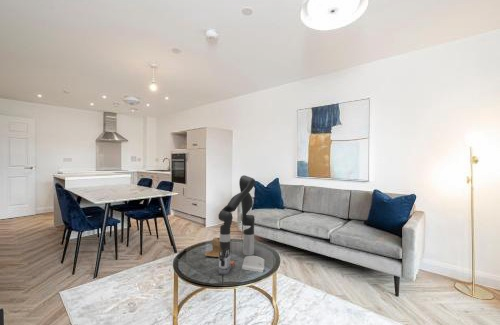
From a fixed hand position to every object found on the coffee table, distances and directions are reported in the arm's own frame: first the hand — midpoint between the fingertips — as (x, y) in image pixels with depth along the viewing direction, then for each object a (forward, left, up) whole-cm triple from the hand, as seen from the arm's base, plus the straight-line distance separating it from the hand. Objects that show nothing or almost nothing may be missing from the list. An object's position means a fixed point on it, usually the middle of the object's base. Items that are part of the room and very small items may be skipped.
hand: (224, 264), depth 166 cm
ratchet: (-4, +4, -6) cm, 8 cm away
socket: (0, 0, -1) cm, 1 cm away
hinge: (+2, +22, -6) cm, 23 cm away
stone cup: (-35, +6, -6) cm, 36 cm away
